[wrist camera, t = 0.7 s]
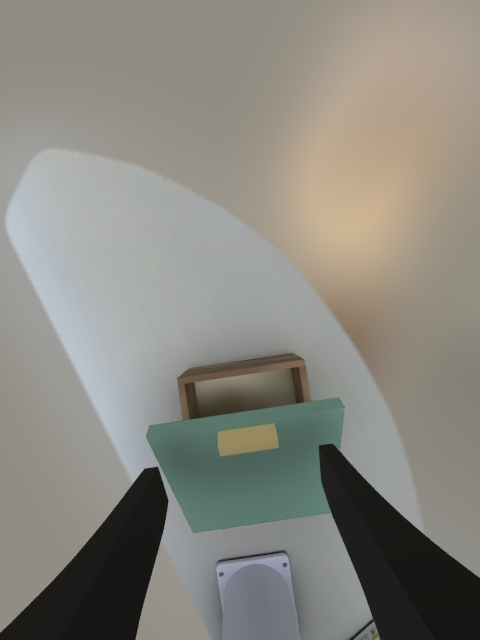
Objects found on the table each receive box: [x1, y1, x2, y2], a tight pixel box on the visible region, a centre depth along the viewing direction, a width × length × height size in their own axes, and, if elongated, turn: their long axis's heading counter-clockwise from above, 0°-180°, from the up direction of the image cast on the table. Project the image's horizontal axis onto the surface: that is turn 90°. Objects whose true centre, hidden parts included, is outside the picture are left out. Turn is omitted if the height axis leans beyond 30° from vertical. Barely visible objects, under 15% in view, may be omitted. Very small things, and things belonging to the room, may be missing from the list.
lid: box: [146, 398, 344, 533], centre depth 18 cm, size 14×12×2 cm
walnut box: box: [177, 354, 311, 421], centre depth 25 cm, size 13×12×5 cm
